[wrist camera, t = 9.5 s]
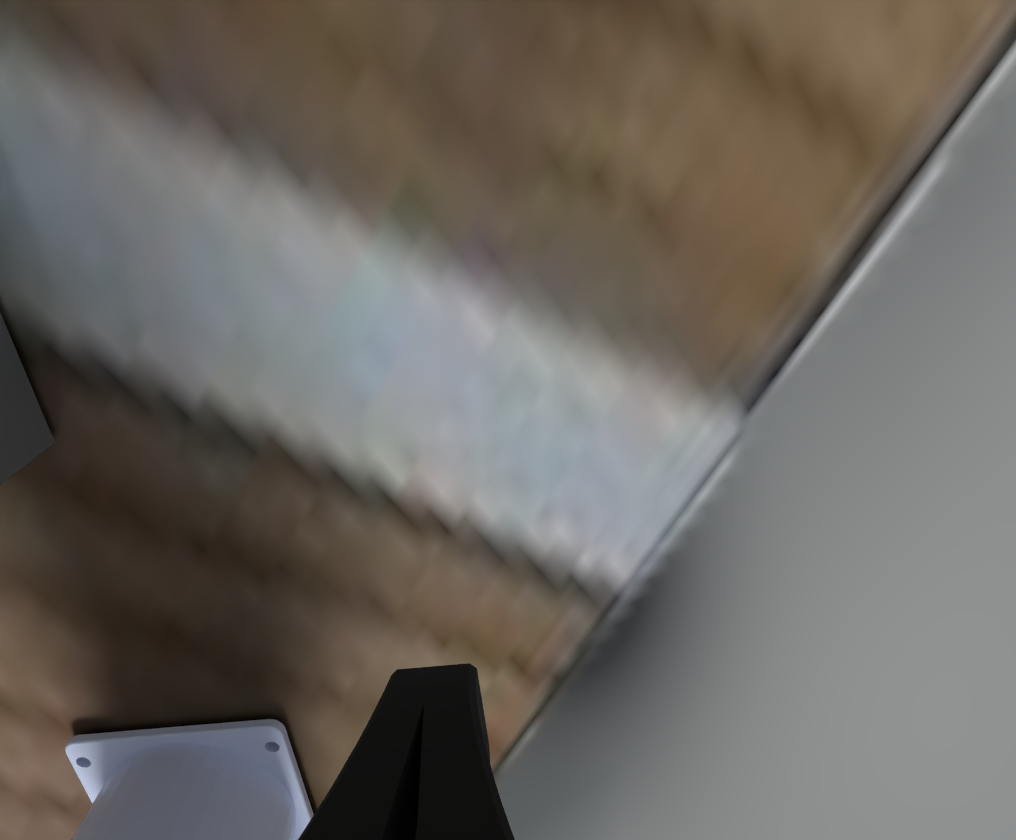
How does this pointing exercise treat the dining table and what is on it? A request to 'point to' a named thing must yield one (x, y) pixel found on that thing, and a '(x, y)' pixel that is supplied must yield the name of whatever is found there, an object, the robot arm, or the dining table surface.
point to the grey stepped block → (18, 413)
